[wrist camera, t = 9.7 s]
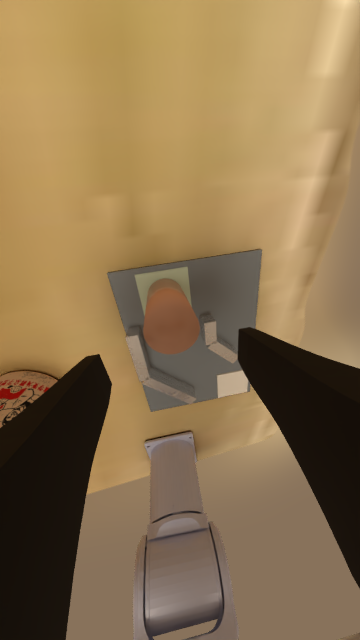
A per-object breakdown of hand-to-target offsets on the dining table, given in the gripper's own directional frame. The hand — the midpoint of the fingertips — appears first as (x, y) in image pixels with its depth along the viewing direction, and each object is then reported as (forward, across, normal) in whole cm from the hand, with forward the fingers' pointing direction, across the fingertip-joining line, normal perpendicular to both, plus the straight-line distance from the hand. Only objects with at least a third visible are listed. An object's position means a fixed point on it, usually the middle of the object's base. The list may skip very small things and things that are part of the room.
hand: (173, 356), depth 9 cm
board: (+10, -3, +7) cm, 12 cm away
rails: (+9, -2, +8) cm, 13 cm away
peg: (+9, 0, 0) cm, 9 cm away
